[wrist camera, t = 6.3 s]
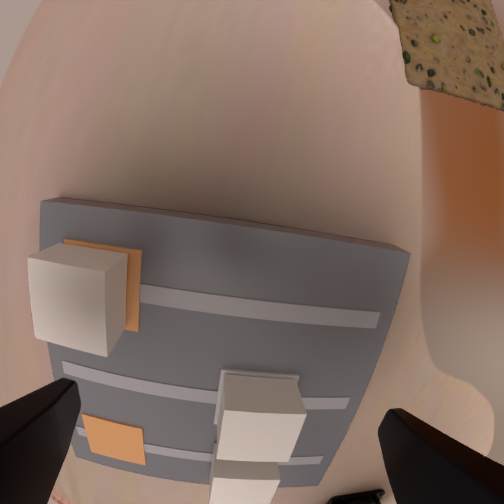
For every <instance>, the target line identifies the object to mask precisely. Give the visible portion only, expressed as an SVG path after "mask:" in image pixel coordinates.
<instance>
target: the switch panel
mask: <svg viewBox="0 0 504 504" xmlns="http://www.w3.org/2000/svg"><path fill="white" fill-rule="evenodd" d="M57 243H64V244H70V245H76V246H82V247H89V248H95V249H101V250H108V251H114V252H121V253H127V254H128V260H127V284H126V328H125V330H124V331H123V333H122V335H121V336H120V338H119V339H118V341H117V343H116V344H115V346H114V347H113V349H112V351H111V352H110V354H109V356H108V357H104V356H100V355H96V354H92V353H88V352H84V351H80V350H76V349H72V348H68V347H65V346H61V345H58V344H54V343H51V342H48V341H47V342H48V349H49V355H50V360H51V366H52V371H53V376H54V380H55V381H56V380H58V379H60V378H63V377H65V378H69V379H72V380H75V381H76V382H77V384H78V389H79V394H80V399H81V410H80V413H79V416H78V419H77V422H76V426H75V429H74V432H73V436H72V439H71V443H72V446H73V449H74V452H75V455H76V457H79V458H82V459H85V460H88V461H91V462H95V463H98V464H102V465H105V466H109V467H113V468H117V469H121V470H125V471H129V472H133V473H138V474H142V475H147V476H153V477H158V478H164V479H170V480H176V481H183V482H190V483H199V484H208V485H210V471H211V464H212V457H213V450H214V443H217V422H218V415H219V408H220V401H221V395H222V388H223V381H224V374H229V375H239V376H250V377H262V378H276V379H294V380H296V382H297V385H298V388H299V391H300V394H301V398H302V401H303V404H304V407H305V410H306V413H307V415H306V418H305V420H304V423H303V426H302V428H301V431H300V434H299V436H298V439H297V441H296V444H295V447H294V449H293V452H292V454H291V456H290V459H289V461H288V462H277V463H278V468H279V474H280V482H279V485H278V487H302V486H317V485H319V483H320V481H321V480H322V478H323V476H324V474H325V473H326V471H327V469H328V467H329V465H330V464H331V462H332V460H333V458H334V456H335V454H336V452H337V450H338V448H339V447H340V445H341V443H342V441H343V439H344V437H345V435H346V433H347V431H348V428H349V426H350V424H351V422H352V420H353V418H354V416H355V414H356V411H357V409H358V407H359V405H360V402H361V400H362V398H363V396H364V393H365V391H366V388H367V386H368V384H369V381H370V379H371V376H372V374H373V371H374V369H375V366H376V364H377V361H378V358H379V356H380V353H381V350H382V347H383V345H384V342H385V339H386V336H387V333H388V330H389V327H390V324H391V321H392V318H393V315H394V312H395V309H396V306H397V302H398V299H399V296H400V292H401V289H402V285H403V281H404V278H405V274H406V270H407V266H408V263H409V259H410V254H411V253H409V252H407V251H405V250H403V249H400V248H398V247H396V246H394V245H389V244H383V243H378V242H372V241H366V240H361V239H355V238H349V237H343V236H337V235H332V234H326V233H320V232H313V231H307V230H301V229H295V228H288V227H282V226H276V225H269V224H263V223H256V222H249V221H242V220H236V219H229V218H222V217H215V216H207V215H200V214H193V213H185V212H178V211H170V210H162V209H154V208H146V207H138V206H130V205H122V204H113V203H104V202H95V201H86V200H77V199H67V198H54V199H48V200H43V201H41V206H40V251H42V250H44V249H46V248H48V247H51V246H53V245H55V244H57Z"/></svg>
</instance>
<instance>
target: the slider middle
mask: <svg viewBox="0 0 504 504" xmlns="http://www.w3.org/2000/svg"><path fill="white" fill-rule="evenodd" d="M306 415H307V413H306V410H305V407H304V404H303V401H302V398H301V394H300V391H299V388H298V385H297V382H296V380H294V379H276V378H262V377H250V376H239V375H229V374H224V381H223V388H222V395H221V401H220V408H219V415H218V422H217V455H216V459H222V460H235V461H255V462H288V461H289V459H290V456H291V454H292V452H293V449H294V447H295V444H296V441H297V439H298V436H299V434H300V431H301V428H302V426H303V423H304V420H305V418H306Z"/></svg>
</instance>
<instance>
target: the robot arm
mask: <svg viewBox="0 0 504 504" xmlns="http://www.w3.org/2000/svg"><path fill="white" fill-rule="evenodd" d="M80 410H81V399H80V394H79V389H78V384H77V382H76V381H75V380H72V379H69V378H65V377H63V378H60V379H58V380H56V381H54V382H52V383H50V384H48V385H46V386H44V387H42V388H40V389H38V390H36V391H34V392H31V393H29V394H27V395H25V396H23V397H21V398H19V399H17V400H15V401H13V402H11V403H8V404H6V405H4V406H2V407H0V504H47V503H48V500H49V498H50V495H51V492H52V490H53V487H54V485H55V482H56V480H57V477H58V475H59V472H60V470H61V467H62V465H63V462H64V460H65V457H66V455H67V452H68V449H69V446H70V443H71V439H72V436H73V432H74V429H75V426H76V422H77V419H78V416H79V413H80ZM378 437H379V441H380V446H381V450H382V455H383V459H384V464H385V468H386V472H387V476H388V479H389V482H390V485H391V488H392V491H393V494H394V497H395V500H396V503H397V504H504V466H503V465H501V464H499V463H497V462H495V461H493V460H491V459H489V458H487V457H486V456H483V455H482V454H480V453H478V452H476V451H475V450H473V449H471V448H469V447H467V446H465V445H464V444H462V443H460V442H458V441H457V440H455V439H453V438H451V437H449V436H448V435H446V434H444V433H442V432H441V431H439V430H437V429H436V428H434V427H432V426H430V425H429V424H427V423H425V422H424V421H422V420H420V419H419V418H417V417H415V416H414V415H412V414H410V413H409V412H407V411H405V410H404V409H402V408H394V409H389V410H388V411H387V413H386V414H385V416H384V418H383V420H382V422H381V424H380V426H379V428H378ZM384 494H385V492H384V490H377V491H372V492H367V493H361V494H355V495H348V496H341V497H335V498H332V499H331V500H330V501H329V503H328V504H381V503H380V501H379V500H380V499H381V497H382V496H383V495H384Z"/></svg>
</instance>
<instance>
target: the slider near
mask: <svg viewBox="0 0 504 504" xmlns="http://www.w3.org/2000/svg"><path fill="white" fill-rule="evenodd" d="M27 258H28V277H29V290H30V301H31V310H32V318H33V325H34V332H35V338H38V339H41V340H44V341H48V342H51V343H54V344H58V345H61V346H65V347H68V348H72V349H76V350H80V351H84V352H88V353H92V354H96V355H100V356H104V357H108V356H109V354H110V352H111V351H112V349H113V347H114V346H115V344H116V343H117V341H118V339H119V338H120V336H121V335H122V333H123V331H124V330H125V328H126V284H127V260H128V254H127V253H121V252H114V251H108V250H101V249H95V248H89V247H82V246H76V245H70V244H64V243H57V244H55V245H53V246H51V247H48V248H46V249H44V250H42V251H40V252H38V253H36V254H33V255H31V256H29V257H27Z"/></svg>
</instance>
